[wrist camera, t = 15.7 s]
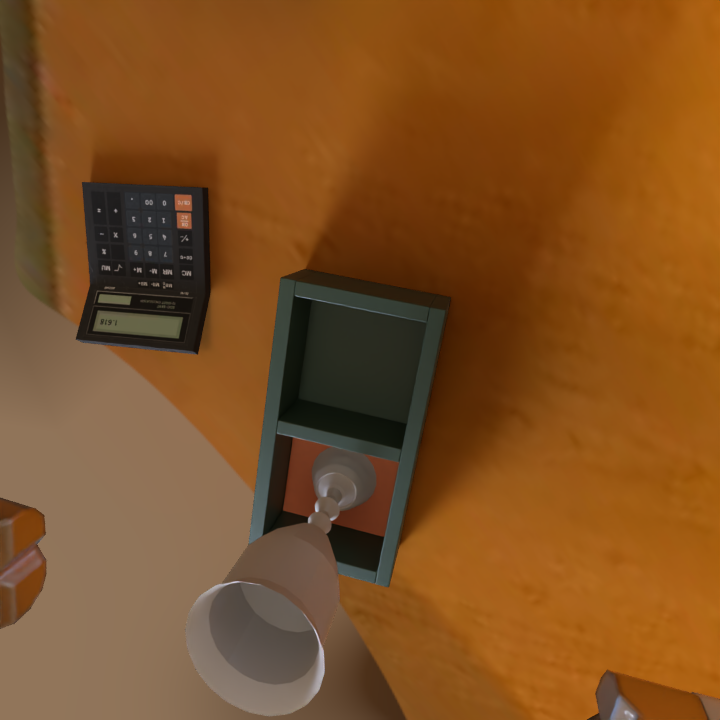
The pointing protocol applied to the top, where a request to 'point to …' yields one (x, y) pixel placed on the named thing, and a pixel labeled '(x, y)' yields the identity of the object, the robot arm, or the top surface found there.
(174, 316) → the calculator
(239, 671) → the chalice
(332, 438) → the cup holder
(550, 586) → the top surface
